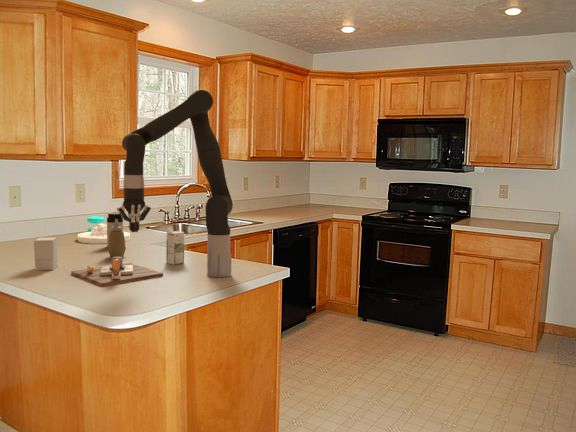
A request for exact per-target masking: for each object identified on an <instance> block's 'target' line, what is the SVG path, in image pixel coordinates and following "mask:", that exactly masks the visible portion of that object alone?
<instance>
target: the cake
mask: <svg viewBox="0 0 576 432" xmlns="http://www.w3.org/2000/svg"><path fill="white" fill-rule="evenodd" d="M91 228H93V226H92V227H91ZM91 231H92V232H87V231H86V232H81V233H78V234H77V242H79V243H83V244H92V245H93V244H94V245H100V244H101V245H102V244H104V245H107V244H106V243H107V223H104V222H102V223H97V226H94V228H93V229H91ZM123 232H124V238H125V242H129V241H130V240H131V234H130V232H128V231H127V232H126V231H123Z"/></svg>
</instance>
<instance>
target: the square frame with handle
mask: <svg viewBox="0 0 576 432" xmlns="http://www.w3.org/2000/svg"><path fill="white" fill-rule="evenodd" d="M101 267H102V269H101V272H100V275H112V279H120V277H121V275H128V274H133V265H122V270H119V259H113V270H112V265H102V266H101Z"/></svg>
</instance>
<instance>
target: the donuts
mask: <svg viewBox="0 0 576 432" xmlns="http://www.w3.org/2000/svg"><path fill="white" fill-rule="evenodd" d="M86 220H87V222H88V223H89V224H95V225H96V224H97V225H98V224H101V223H104V222H105V217H104V216H96V215H95V216H94V215H93V216H88V217H87V219H86ZM92 227H93V226H92ZM92 227H89V228H88V229H87V230H86V232H92V231H91V229H93V228H94V227H95V226H94V227H93V228H92Z"/></svg>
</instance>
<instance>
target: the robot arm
mask: <svg viewBox="0 0 576 432" xmlns="http://www.w3.org/2000/svg"><path fill="white" fill-rule="evenodd" d="M213 103H214V98H213V96H212V94H211V93H210V92H209V91H207V90H205V89H197V90H195V91H193V92H192V93H190V95H188V96H187V98H186V99H185V100H184V101H183V102H181V103H180V104H179V105H177V106H175V107H174V108H172V109H171V110H169V111H167V112H165V113H164V114H161V115H160V116H158V117H156V118H154V119H152V120H151V121H149V122H148V123H146V124H145V125H144V126H142V127H140V128H138V129H136V130H134V131H132V132H130V133H128V134H127V135H125V136H124V137H123V138H122V141H121V145H122V148H123V150H124V151H126V159H125V160H124V165H123V202H122V205H121V206H120V207H117V208H116V210H117V211H116V212H119V213H120V215H121V216H122V218H123V221H125V222H128V224H129V229H128V230H129V231H130V232H131V233H138V232H139V230H140V222H141V221H145V218H146V217H147V215H148V214H149V212H150V211H151V210H152V208H151V206H148V205H146V202H145V178H144V161H145V153H146V145H148V144H150V143H152V142H153V143H154V142H155V141H158V140H159V139H161V138H162V137H165V135H167V134H169V133H170V132H172V131H173V130H174V129H176V128H177V127H179V126H180V125H182V124H183V123H184V122H186V121H188V120H189V119H190V122H191V125H192V126H191V127H192V130H193V137H194V141H195V146H196V152H197V158H198V161H199V162H198V163H199V165H200V167H201V170H202V172H203V174H204V176H205V178H206V180H207V182H208V185H209V189H210V194H211V196H209V198H207V201H206V203H205V226H206V229H207V240H206V242H207V246H206V248H207V249H206V251H207V259H206V260H207V261H206V263H207V264H206V267H207V268H206V270H207V271H206V273H207V274H206V275H207V277H211V278H219V279H221V278H227V277H231V276H232V256H233V255H232V252H231V227H230V226H229V221H228V220H229V219H228V218H229V217H228V216H229V215H230V214H231V212H232V210H233V207H234V205H233V199H232V196H231V193H230V191H229V187H228V184H227V179H226V174H225V168H224V164H223V158H222V152H221V147H220V143H219V142H218V139H217V138H216V136H215V134H214V131H213V130H212V127H211V125H210V119H209V111H210V110H211V109H212V107H213ZM125 211H126V212H127V213H126V212H125Z"/></svg>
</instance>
